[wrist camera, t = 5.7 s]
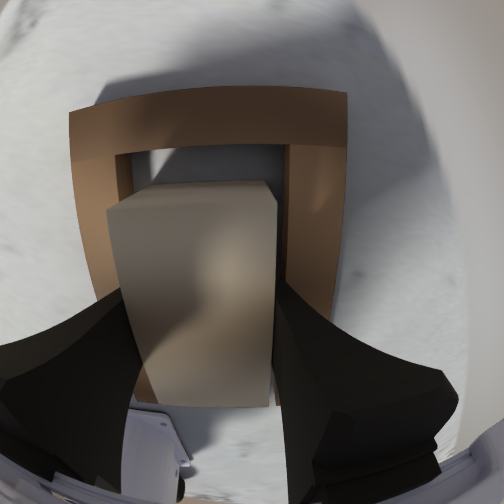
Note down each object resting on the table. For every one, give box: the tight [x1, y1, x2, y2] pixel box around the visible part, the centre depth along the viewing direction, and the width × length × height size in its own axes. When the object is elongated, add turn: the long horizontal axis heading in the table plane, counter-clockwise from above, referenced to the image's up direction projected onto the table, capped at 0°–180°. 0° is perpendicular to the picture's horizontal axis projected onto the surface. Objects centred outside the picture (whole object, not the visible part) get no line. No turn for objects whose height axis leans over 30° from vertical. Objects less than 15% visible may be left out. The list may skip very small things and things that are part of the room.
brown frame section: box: [69, 86, 347, 406], centre depth 11 cm, size 15×10×2 cm, turn 0°
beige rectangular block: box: [106, 180, 277, 408], centre depth 10 cm, size 8×4×4 cm, turn 0°
